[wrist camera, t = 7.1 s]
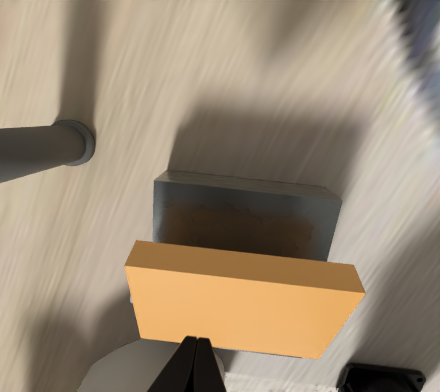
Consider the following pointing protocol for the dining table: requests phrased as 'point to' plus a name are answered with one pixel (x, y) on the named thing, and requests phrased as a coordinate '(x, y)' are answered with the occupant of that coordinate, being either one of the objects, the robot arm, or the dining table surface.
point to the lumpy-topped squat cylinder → (131, 367)
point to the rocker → (240, 298)
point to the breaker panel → (244, 216)
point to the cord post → (43, 148)
